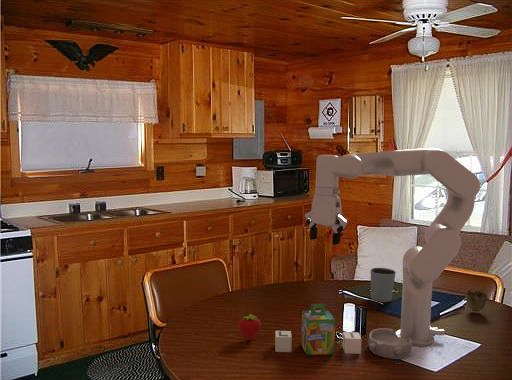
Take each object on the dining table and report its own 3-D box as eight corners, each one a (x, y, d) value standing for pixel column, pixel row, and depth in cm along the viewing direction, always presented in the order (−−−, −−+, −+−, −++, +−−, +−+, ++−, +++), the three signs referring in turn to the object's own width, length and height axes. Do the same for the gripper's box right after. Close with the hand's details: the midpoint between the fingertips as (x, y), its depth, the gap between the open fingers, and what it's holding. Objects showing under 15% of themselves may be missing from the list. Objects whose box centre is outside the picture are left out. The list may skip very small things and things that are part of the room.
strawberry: (237, 337, 176) (237, 308, 175) (259, 335, 177) (259, 307, 176) (239, 344, 170) (239, 315, 169) (262, 343, 171) (262, 313, 170)
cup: (482, 310, 205) (483, 290, 204) (488, 317, 198) (490, 296, 197) (462, 309, 206) (464, 289, 205) (468, 316, 199) (469, 295, 198)
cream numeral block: (357, 347, 169) (358, 332, 169) (360, 353, 165) (361, 338, 164) (342, 346, 170) (343, 331, 169) (344, 353, 165) (345, 337, 164)
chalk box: (306, 356, 162) (307, 310, 160) (300, 344, 171) (301, 300, 169) (335, 355, 163) (336, 309, 161) (327, 342, 172) (329, 299, 170)
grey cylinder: (364, 296, 220) (365, 268, 218) (383, 293, 224) (384, 266, 222) (379, 304, 211) (381, 275, 209) (399, 300, 215) (400, 272, 213)
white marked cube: (290, 345, 170) (290, 330, 169) (291, 352, 165) (291, 336, 164) (275, 345, 170) (275, 330, 169) (275, 352, 165) (275, 336, 164)
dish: (379, 338, 177) (379, 324, 176) (418, 350, 168) (419, 335, 167) (358, 352, 166) (359, 337, 165) (399, 365, 157) (400, 350, 156)
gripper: (354, 193, 170) (352, 244, 173) (313, 188, 183) (311, 235, 185) (340, 195, 165) (338, 248, 167) (299, 189, 177) (297, 238, 180)
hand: (324, 241), depth 176 cm, fingers open, 9 cm apart
